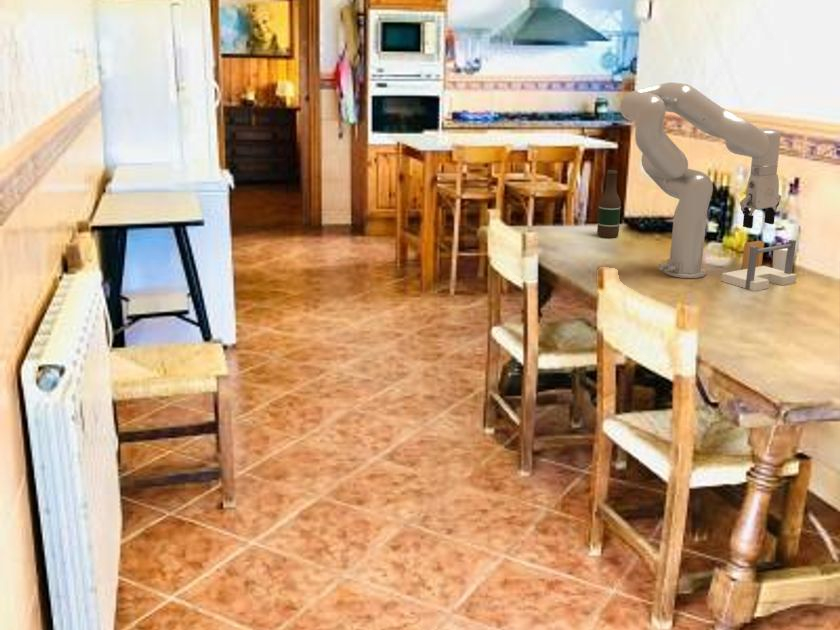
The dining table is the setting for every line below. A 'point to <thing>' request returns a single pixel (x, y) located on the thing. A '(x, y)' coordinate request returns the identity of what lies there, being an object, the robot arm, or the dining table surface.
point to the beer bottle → (609, 209)
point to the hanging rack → (763, 270)
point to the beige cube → (780, 258)
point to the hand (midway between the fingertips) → (758, 225)
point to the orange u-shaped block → (747, 250)
